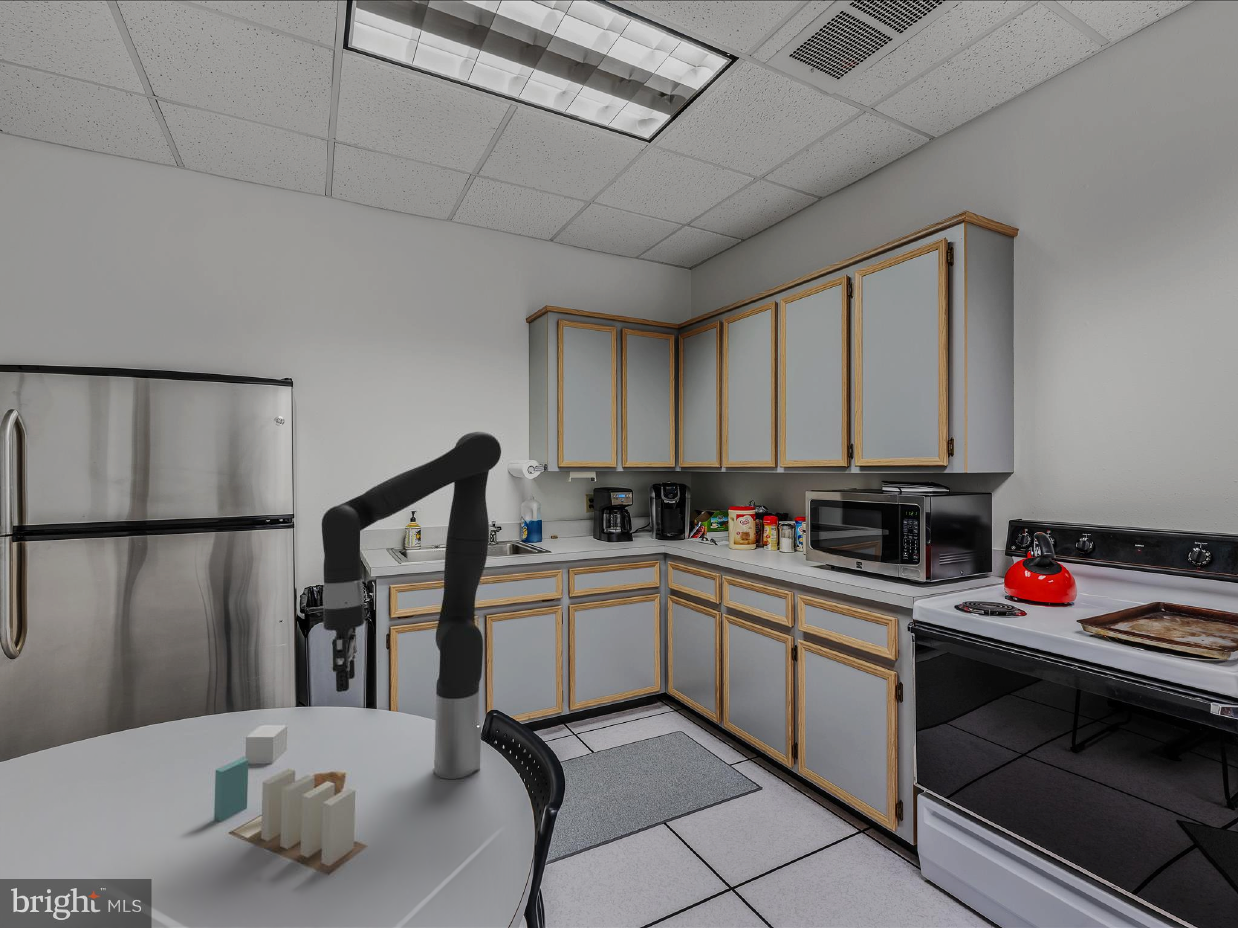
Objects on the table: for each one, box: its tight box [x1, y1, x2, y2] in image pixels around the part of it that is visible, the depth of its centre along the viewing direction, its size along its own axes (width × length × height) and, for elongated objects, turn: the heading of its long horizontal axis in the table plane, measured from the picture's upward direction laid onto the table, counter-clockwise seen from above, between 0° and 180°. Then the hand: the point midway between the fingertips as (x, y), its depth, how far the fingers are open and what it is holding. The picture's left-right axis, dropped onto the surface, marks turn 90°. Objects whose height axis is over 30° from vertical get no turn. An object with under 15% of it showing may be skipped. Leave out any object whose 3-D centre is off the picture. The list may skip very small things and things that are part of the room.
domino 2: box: [280, 774, 315, 849], centre depth 103 cm, size 2×5×10 cm, turn 156°
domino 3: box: [301, 781, 335, 857], centre depth 101 cm, size 2×5×10 cm, turn 156°
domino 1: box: [261, 768, 296, 841], centre depth 105 cm, size 2×5×10 cm, turn 156°
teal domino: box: [213, 757, 249, 823], centre depth 110 cm, size 2×5×10 cm, turn 156°
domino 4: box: [321, 787, 356, 866], centre depth 99 cm, size 2×5×10 cm, turn 156°
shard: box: [312, 771, 347, 796], centre depth 120 cm, size 11×8×2 cm
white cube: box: [244, 724, 288, 765], centre depth 133 cm, size 6×6×6 cm
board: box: [228, 814, 368, 876], centre depth 103 cm, size 25×8×1 cm, turn 66°
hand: (346, 684), depth 118 cm, fingers open, 8 cm apart
